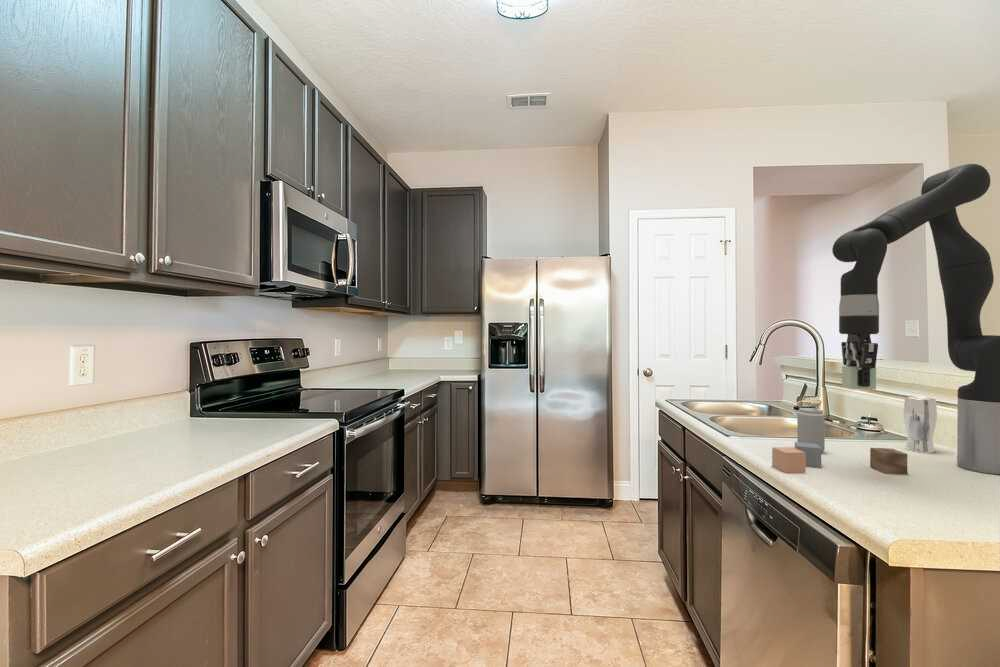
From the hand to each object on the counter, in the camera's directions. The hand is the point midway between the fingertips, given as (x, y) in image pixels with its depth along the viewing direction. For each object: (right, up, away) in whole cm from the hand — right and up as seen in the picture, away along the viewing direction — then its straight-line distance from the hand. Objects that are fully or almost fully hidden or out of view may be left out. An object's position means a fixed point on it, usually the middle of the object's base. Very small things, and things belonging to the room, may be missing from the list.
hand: (858, 384), depth 108 cm
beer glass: (+34, -21, +21) cm, 46 cm away
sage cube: (0, -1, 0) cm, 1 cm away
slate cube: (-7, -21, +8) cm, 24 cm away
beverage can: (+3, -21, +20) cm, 30 cm away
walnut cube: (+9, -21, +2) cm, 23 cm away
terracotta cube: (-15, -21, +3) cm, 26 cm away
